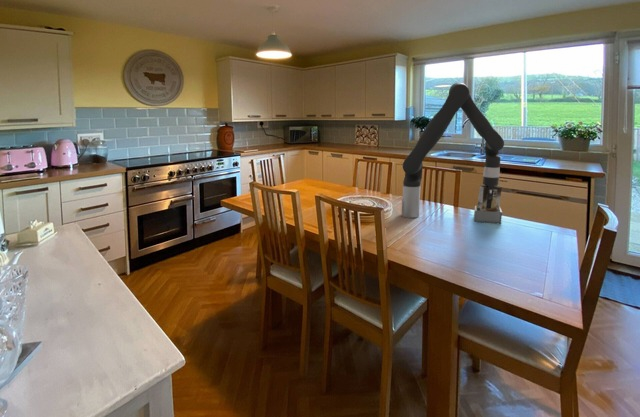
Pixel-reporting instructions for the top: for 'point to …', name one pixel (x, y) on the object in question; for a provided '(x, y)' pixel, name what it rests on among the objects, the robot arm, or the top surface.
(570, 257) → the top surface
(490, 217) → the bin
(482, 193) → the coffee box
